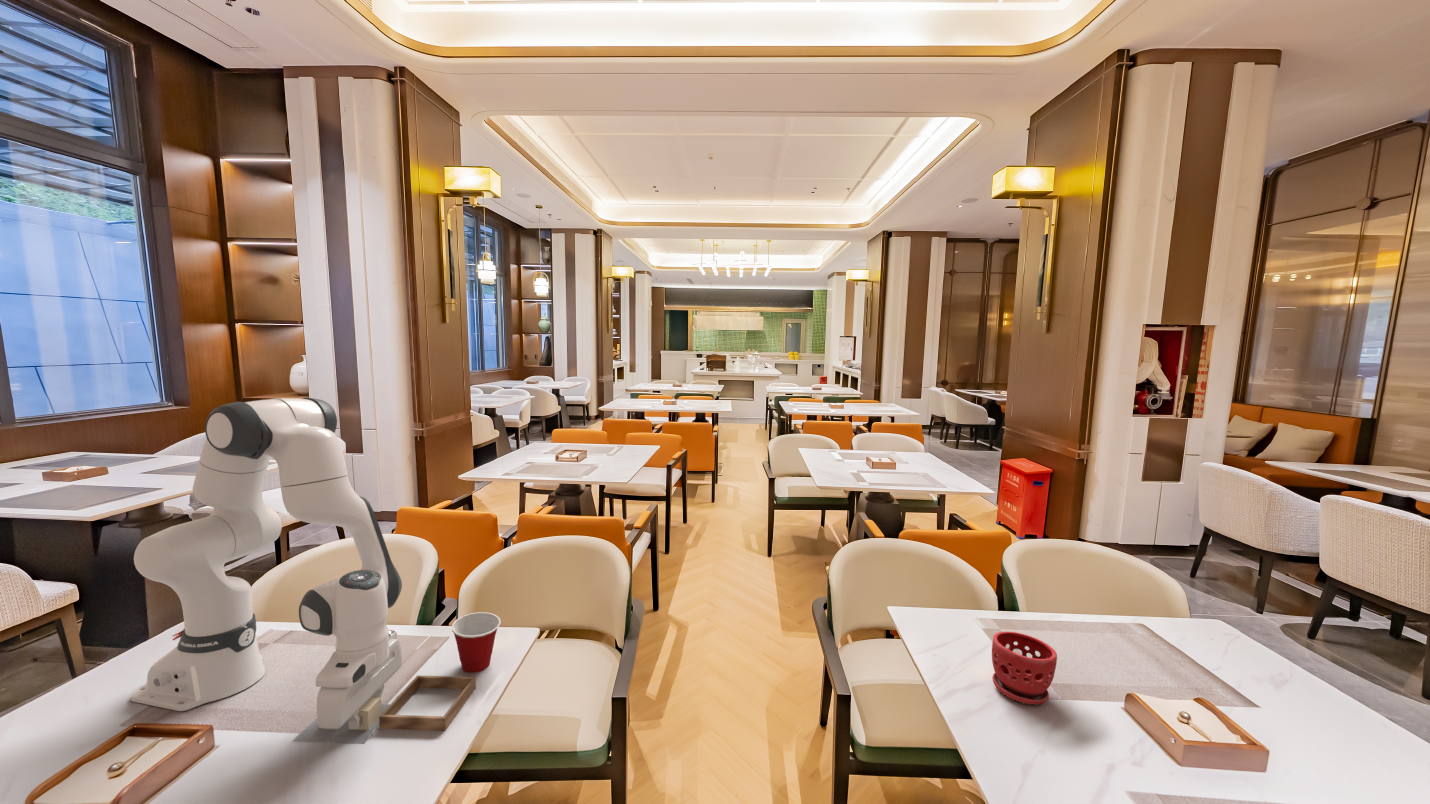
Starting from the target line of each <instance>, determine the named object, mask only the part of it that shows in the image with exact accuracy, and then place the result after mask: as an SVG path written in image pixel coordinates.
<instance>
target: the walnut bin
mask: <svg viewBox="0 0 1430 804" xmlns="http://www.w3.org/2000/svg"><path fill="white" fill-rule="evenodd" d="M476 679H477V678H476V677H475V676H474V677H472V676H449V675H447V676H445V675H444V676H441V675H416V677H415V678H413V679H412V681H411V682H409V684H408V685H407V686H406V687H405V688H404V689H403V691H401V692H400V694H398V696H396V698H395V699H394V700H393V701H392V702H390V703H389V704H390V705H389V707H388V708H387V709H386V710H385V711H384V712H383V713H382V714H381V715H380V716H379V728H378V729H379V730H397V731H398V730H399V731H405V730H407V731H431V732H432V731H434V732H435V731H436V732H446V730H447V729H448V728H449V726H450V725H451V724H452V722H453V721H454V719H455V718H456V717H457V715H458V714H459V713H460V711H461V710H462V708H464V705H465V704H466V703H467V702H468V701H469V699H470V697H471V695H472V694H473V693H474V691H475V690H476V687H477V686H476V685H477V684H476V682H477V680H476ZM419 689H424V690H425V689H426V690H427V689H428V690H429V689H432V690H458V691H459V690H460V691H461V692H460V694H459V695H458V696H457V697H456V699H455V700H454V702H453V703H452V705H451V706H450V707H449V709H447V711H446V712H445V713H444V715H443V716H441V715H413V714H412V715H410V714H408V715H405V714H397V713H398V712H399V711H400V710H401V709H402V708H403V707H404V705H405V704H406V703H407V702H408V701H409V700H410V699H411V697H413V696H414V694H416V692H417V691H418V690H419Z"/></svg>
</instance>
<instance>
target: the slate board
mask: <svg viewBox="0 0 1430 804" xmlns="http://www.w3.org/2000/svg"><path fill="white" fill-rule="evenodd" d="M390 704H391V703H389V704H387V703H384V704H383V703H381V708H382V713H383V712H384V711H385V710H386V709H387V708H388V707H389V705H390ZM378 729H380V728H379V719H378V720H377V721H376V723H375V724H374V725H373V726H372V727H371V728H370V729H369V730H359V729H349V721H348V720H347V721H346V722H345V723H344V724H343V725H342V727H340V728H339V729H322V728H319V726H318V722H317V718H316V719H314V721H312V722H311V723H310V724H309V725H308V726H307V727H306V728H305V729H304V730H303V731H301V732H300V733H299V734H298V735H297V736H296V737H295V738H293V740H292V742H297V743H298V742H304V743H305V742H306V743H331V744H332V743H333V744H335V743H337V744H363V745H365V743H367V741H368V740H369V739H370V738H371V737H372V736H373V735H374V734H375V732H376V731H377V730H378Z"/></svg>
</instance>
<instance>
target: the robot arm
mask: <svg viewBox="0 0 1430 804" xmlns="http://www.w3.org/2000/svg"><path fill="white" fill-rule="evenodd" d="M204 426H205V427H204V432H205V437H206V439H205V442H204V445H203V447H202V449H201V454H200V457H199V460H198V464H197V469H196V473H195V478H194V481H193V485H192V493H193V495H194V496H195V498H196V500H198V501H199V502H200V504H203V505H205V506H208V507H211V508H213V510H212V512H211V514H209V515H207V516H205V517H201V518H198V519H194V520H191V521H187V522H183V523H180V524H176V525H172V526H170V527H167V528H164V529H162V530H160V531H157V532H155V533H154V534H151V535H149V536H147V537H144V538H143V539H142V540H141V541H140V542H139V544H138V545H137V546H136V548H135V551H134V555H133V564H134V566H135V569H136V570H137V571H138V573H139V574H140V575H141V576H142V577H144V578H146V579H147V580H149V581H153V582H156V583H161V584H164V585H166V586H168V587H169V588H171V589H172V590H173V591H174V592H175V594H177V596H178V598H179V600H180V603H181V608H182V615H183V622H184V628H183V630H180V631H179V632H177V633H175V634H173V635H171V636H172V637H174V638H173V639H172V641H176V640H177V639H179V638H180V639H179V641H178V643H177V646H176V647H174V648H173V649H171V650H170V651H169V652H168V653H166V654H165V655H164V656H162V657H161V658H159V659H158V660H157V661H156V662H154V663H153V664H152V665H151V666H150V667H149V670H148V673H147V676H146V682H145V683H144V684H142V685H140V686H139V688H137V689H136V690H135V691H134V692H133V693H132V694H131V695H130V696H131V697H130V701H131V702H134V703H139V704H143V705H148V706H153V707H158V708H163V709H166V710H167V709H168V710H171V711H176V712H184V711H188V710H191V709H194V708H196V707H198V706H201V705H204V704H207V703H210V702H211V703H212V702H214V701H218V700H222V699H224V698H228V697H230V696H233V695H235V694H237V693H239V692H240V693H241V692H242V691H244V690H246V689H248V688H249V687H251V686H252V685H255V683H257V682H258V681H259V680H261V679H262V677H263V676H264V675H265V673H266V667H265V665H264V657H263V655H262V654H261V652H260V648H259V642H258V638H257V634H256V632H257V618H256V614H255V613H253V612H254V611H253V609H254V608H253V596H252V592H253V591H252V586H251V584H250V583H249V582H248V581H247V580H245V579H244V578H241V577H238V576H231V575H227V574H226V572H225V569H224V568H225V564H226V563H229V562H232V561H235V560H237V559H240V558H243V557H245V556H248V555H251V554H254V553H256V552H258V551H260V550H262V549H263V548H266V547H267V546H269V545H271V544H272V543H274V542H276V541H277V539H279V537H280V535H281V532H282V528H283V525H282V523H283V522H282V520H281V516H280V515H279V514H278V512H277V511H276V510H275V509H273V508H271V507H270V506H267V505H266V504H265V501H264V499H263V489H264V484H265V480H266V475H267V471H268V467H269V464H270V461H271V460H270V458H273V460H275V462H276V464H277V469H278V476H279V483H280V484H279V485H280V490H281V497H282V501H283V505H284V508H285V511H286V512H287V513H288V514H289V515H290V516H292V517H293V518H295V519H297V520H298V521H301V522H302V523H308V524H313V525H320V526H321V525H325V526H337V527H341V528H343V529H345V530H346V531H348V532H349V533H350V535H351V536H352V539H353V542H354V544H355V547H356V550H357V552H358V555H359V559H360V561H361V565H362V566H361V569H359V570H353V571H349V572H347V573H345V574H344V575H342V576H341V577H340V578H337V579H333V580H331V581H328V582H325V583H323V584H320V585H317V586H315V587H313V588H311V589H309V590H308V591H307V592H306V593H305V594H304V595H303V597H302V598H301V602H300V604H299V606H298V618H299V622H300V625H301V627H302V629H303V630H305V631H307V632H310V633H312V634H315V635H320V636H326V637H329V636H331V635H332V636H334V637H335V638H336V642H335V651H333V653H332V654H331V656H330V658H329V660H328V661H327V662H326V664H325V665H324V667H323V668H322V669H321V670H320V671H319V673H318V674H317V676H316V678H315V685H316V687H319V690H318V693H317V696H316V719H317V722H318V726H319V727H321V728H322V729H339V728H340V727H342V725H343V724H344V723H345V722H346V721H347V720H348V721H349V728H350V729H358V728H359V727H360V726H361V724H362V723H363V721H362V720H363V716H358V715H357V714H358V713H359V709H360V708H361V707H362V706H363V705H364V704H365V703H366V702H367V701H368V700H369V699H370V698H371V697H375V698H381V699H382V695H383V692H384V689H385V684H386V683H387V682H388V681H389V680H390V679H391V678H392V677H393V676H394V675H395V674H396V673H397V672H398V671H399V670H400V669H401V667H402V664H403V652H402V646H401V642H400V640H399V639H398V633H397V631H396V630H394V629H393V630H392V629H389V628H388V626H387V618H388V617H389V616H388V615H389V609H390V608H392V607H393V606H394V605H395V604H396V602H397V600H398V599H399V597H400V594H401V592H402V588H403V583H402V578H401V576H400V574H399V571H398V569H397V568H396V566H395V565H394V563H393V561H392V558H391V556H390V553H389V550H388V547H387V545H386V542H385V538H384V536H383V533H382V530H381V527H380V525H379V522H378V519H377V516H376V513H375V512H374V509H373V507H372V506H371V504H370V502H369V500H368V499H367V498H366V497H363V496H360V495H358V494H357V493H356V491H355V489H354V488H353V486H352V484H351V482H350V479H349V473H348V468H347V463H346V459H345V456H344V452H343V450H342V446H341V444H340V442H339V438H338V437H337V435H336V433H335V432H336V431H337V426H338V417H337V413H336V411H335V409H334V408H333V406H332V405H331V404H330V403H329V402H327V401H326V400H323V399H318V398H311V397H304V398H297V397H296V398H291V397H277V398H276V397H275V398H270V399H259V400H252V401H251V400H250V401H245V402H244V401H235V402H231V403H225V404H223V405H222V404H221V405H219V406H218V407H215V408H214V409H213V410H211V412H210V413H209V415H208V416H207V418H206V421H205V425H204Z"/></svg>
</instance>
